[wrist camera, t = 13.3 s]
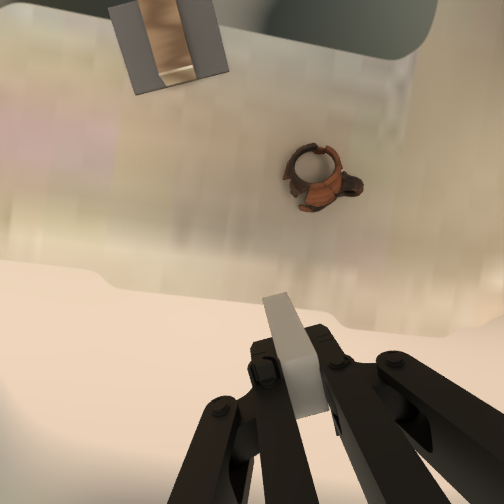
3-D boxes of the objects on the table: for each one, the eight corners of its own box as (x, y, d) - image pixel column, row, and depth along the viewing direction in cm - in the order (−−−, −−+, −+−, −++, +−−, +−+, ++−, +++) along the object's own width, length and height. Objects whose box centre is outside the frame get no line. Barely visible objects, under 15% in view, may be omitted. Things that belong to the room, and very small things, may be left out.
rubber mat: (207, -16, 41) (207, -18, 41) (228, 71, 44) (228, 70, 43) (108, 9, 41) (107, 8, 41) (135, 95, 44) (135, 94, 43)
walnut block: (196, 78, 43) (173, -9, 41) (192, 67, 39) (167, -32, 36) (166, 86, 43) (141, -2, 41) (159, 75, 39) (131, -23, 36)
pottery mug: (281, 214, 50) (279, 191, 42) (288, 163, 52) (288, 133, 44) (355, 221, 48) (368, 200, 40) (360, 169, 50) (373, 138, 42)
